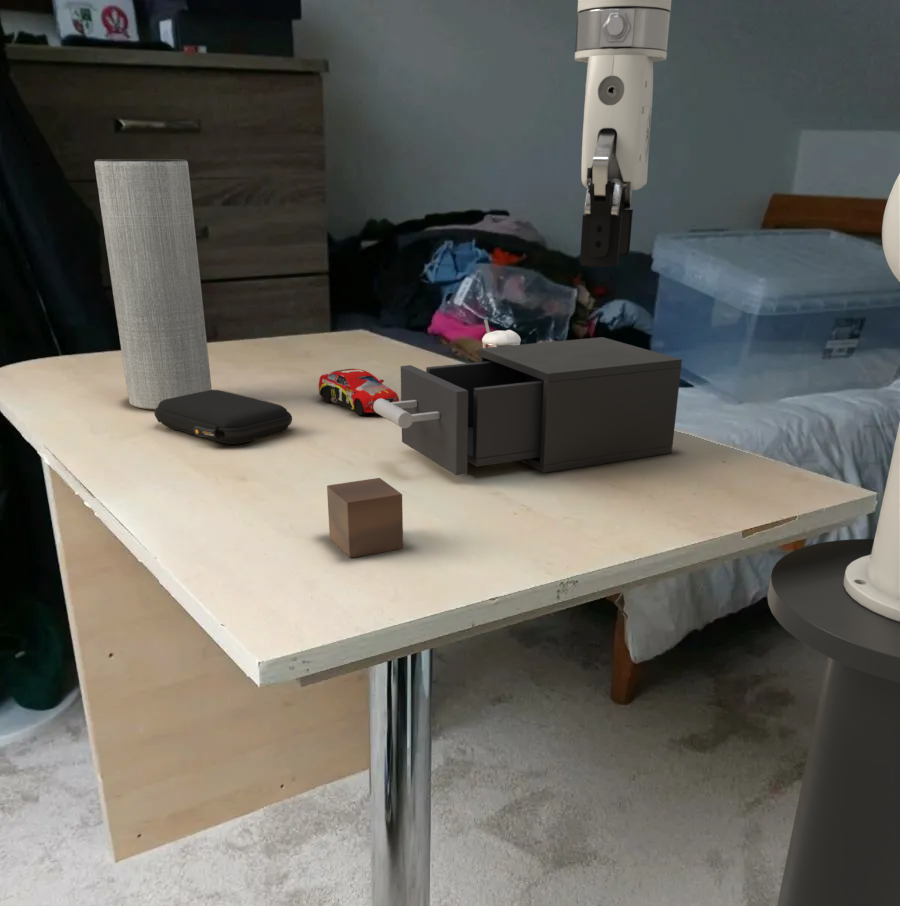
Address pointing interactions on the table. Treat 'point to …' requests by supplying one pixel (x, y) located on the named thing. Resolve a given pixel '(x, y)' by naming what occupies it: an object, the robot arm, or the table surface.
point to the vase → (154, 277)
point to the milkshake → (499, 338)
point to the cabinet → (597, 399)
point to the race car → (354, 389)
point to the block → (365, 517)
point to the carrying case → (223, 416)
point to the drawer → (468, 414)
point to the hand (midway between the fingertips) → (605, 260)
